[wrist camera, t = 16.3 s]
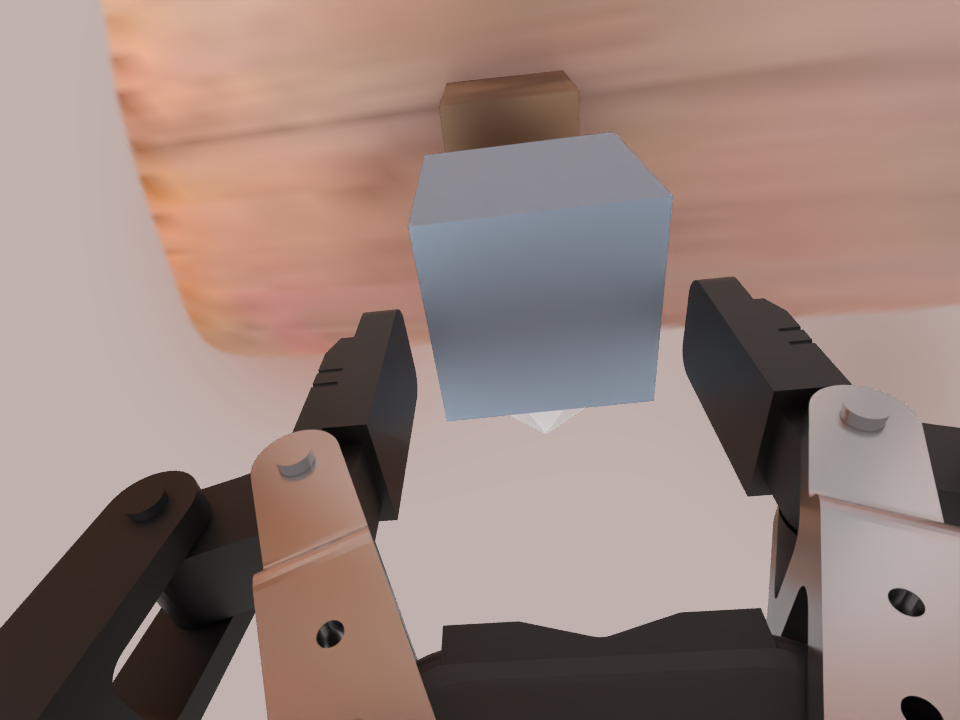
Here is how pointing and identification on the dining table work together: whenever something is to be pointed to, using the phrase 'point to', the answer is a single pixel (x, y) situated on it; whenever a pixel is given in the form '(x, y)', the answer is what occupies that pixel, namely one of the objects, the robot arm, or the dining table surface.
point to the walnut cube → (509, 111)
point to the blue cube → (541, 274)
